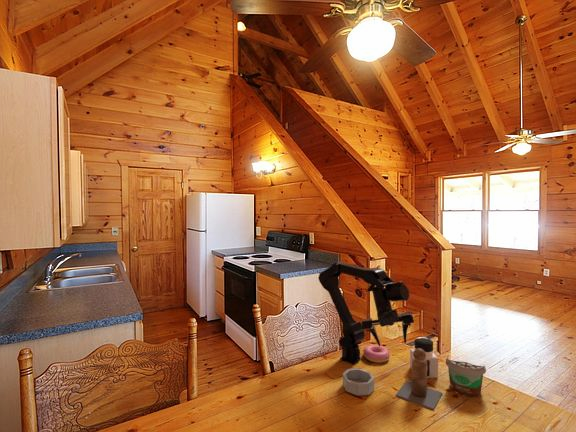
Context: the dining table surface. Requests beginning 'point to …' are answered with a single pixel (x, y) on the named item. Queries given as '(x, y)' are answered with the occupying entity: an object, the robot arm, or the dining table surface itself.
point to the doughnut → (376, 353)
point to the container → (430, 356)
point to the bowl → (358, 381)
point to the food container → (465, 377)
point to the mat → (427, 401)
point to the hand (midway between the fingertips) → (392, 344)
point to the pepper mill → (419, 373)
